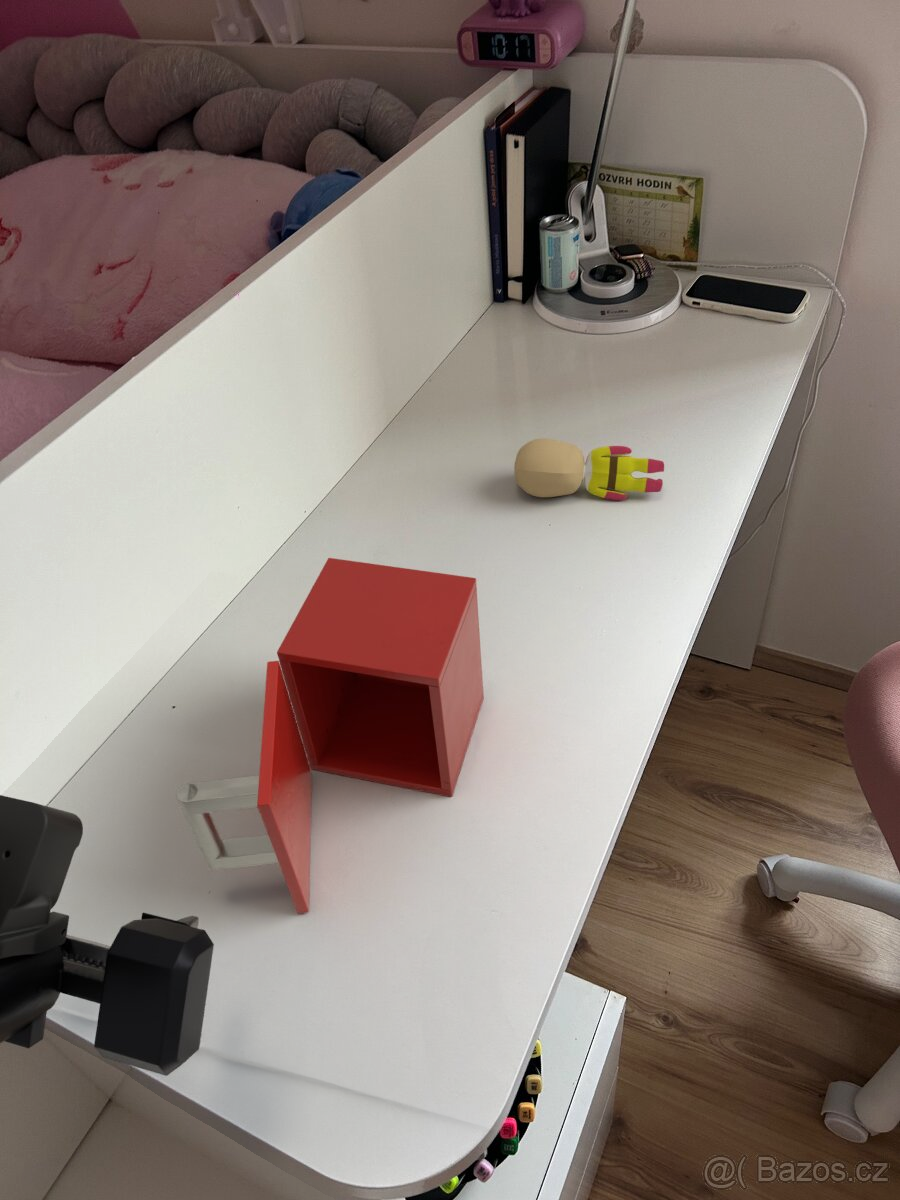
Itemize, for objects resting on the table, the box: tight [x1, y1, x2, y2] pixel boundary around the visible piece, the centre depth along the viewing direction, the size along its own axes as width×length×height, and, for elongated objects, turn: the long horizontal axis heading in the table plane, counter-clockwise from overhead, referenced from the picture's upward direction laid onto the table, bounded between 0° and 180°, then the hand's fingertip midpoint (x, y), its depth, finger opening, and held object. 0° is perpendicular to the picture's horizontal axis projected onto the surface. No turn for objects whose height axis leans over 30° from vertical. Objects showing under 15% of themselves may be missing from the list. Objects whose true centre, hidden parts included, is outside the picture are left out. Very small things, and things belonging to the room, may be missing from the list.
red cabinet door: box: [175, 660, 313, 914], centre depth 63 cm, size 6×12×13 cm, turn 5°
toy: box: [513, 438, 665, 501], centre depth 94 cm, size 6×7×15 cm
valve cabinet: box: [276, 557, 485, 798], centre depth 70 cm, size 10×12×14 cm
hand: (123, 907), depth 53 cm, fingers open, 9 cm apart
